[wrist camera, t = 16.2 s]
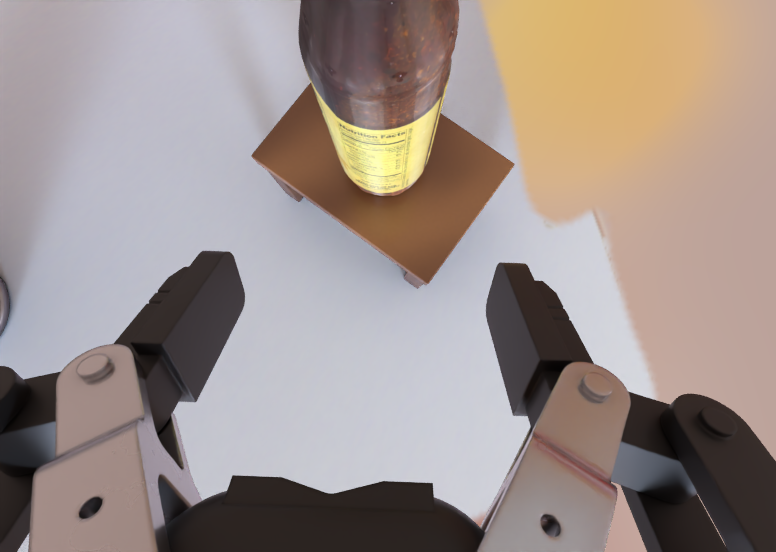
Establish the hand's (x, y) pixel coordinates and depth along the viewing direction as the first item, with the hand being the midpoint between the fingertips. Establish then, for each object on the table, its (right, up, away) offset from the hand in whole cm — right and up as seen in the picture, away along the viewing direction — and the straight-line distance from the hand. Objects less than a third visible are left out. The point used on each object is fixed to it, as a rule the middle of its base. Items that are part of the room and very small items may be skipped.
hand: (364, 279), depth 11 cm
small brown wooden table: (0, +8, +23) cm, 24 cm away
